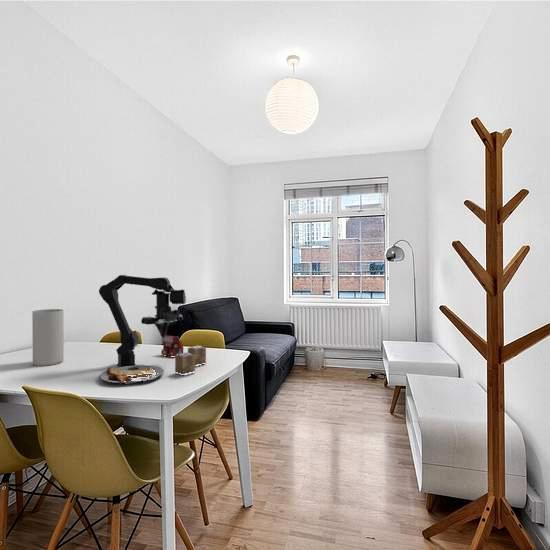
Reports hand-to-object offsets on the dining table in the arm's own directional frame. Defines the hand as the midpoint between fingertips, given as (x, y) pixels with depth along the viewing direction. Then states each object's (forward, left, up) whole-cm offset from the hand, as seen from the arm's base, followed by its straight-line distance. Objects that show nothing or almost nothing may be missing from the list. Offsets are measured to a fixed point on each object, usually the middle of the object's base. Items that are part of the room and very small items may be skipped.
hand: (162, 337), depth 169 cm
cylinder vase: (-35, +43, -13) cm, 57 cm away
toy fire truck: (+13, +12, -13) cm, 22 cm away
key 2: (-1, -19, -13) cm, 23 cm away
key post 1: (+11, -11, -13) cm, 21 cm away
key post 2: (-1, -19, -13) cm, 23 cm away
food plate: (-19, -8, -14) cm, 25 cm away
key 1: (+11, -11, -13) cm, 20 cm away
